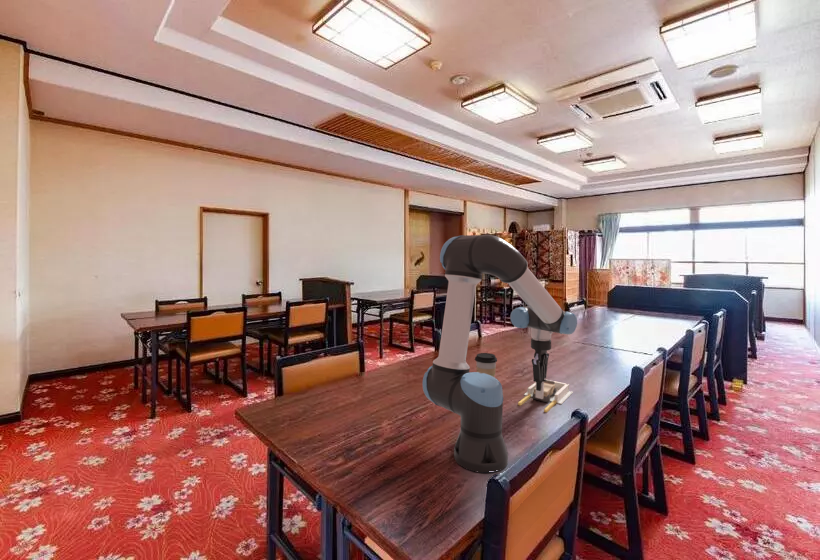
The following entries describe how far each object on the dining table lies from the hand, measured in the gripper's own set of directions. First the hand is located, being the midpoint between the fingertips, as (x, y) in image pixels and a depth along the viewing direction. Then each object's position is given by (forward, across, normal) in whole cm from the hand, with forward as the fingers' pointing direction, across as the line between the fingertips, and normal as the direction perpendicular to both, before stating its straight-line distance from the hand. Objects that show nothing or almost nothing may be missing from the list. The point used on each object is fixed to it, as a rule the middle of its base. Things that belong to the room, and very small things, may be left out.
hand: (539, 397), depth 148 cm
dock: (+2, +6, 0) cm, 6 cm away
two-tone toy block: (+2, +6, 0) cm, 7 cm away
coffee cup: (+2, -1, +23) cm, 23 cm away
